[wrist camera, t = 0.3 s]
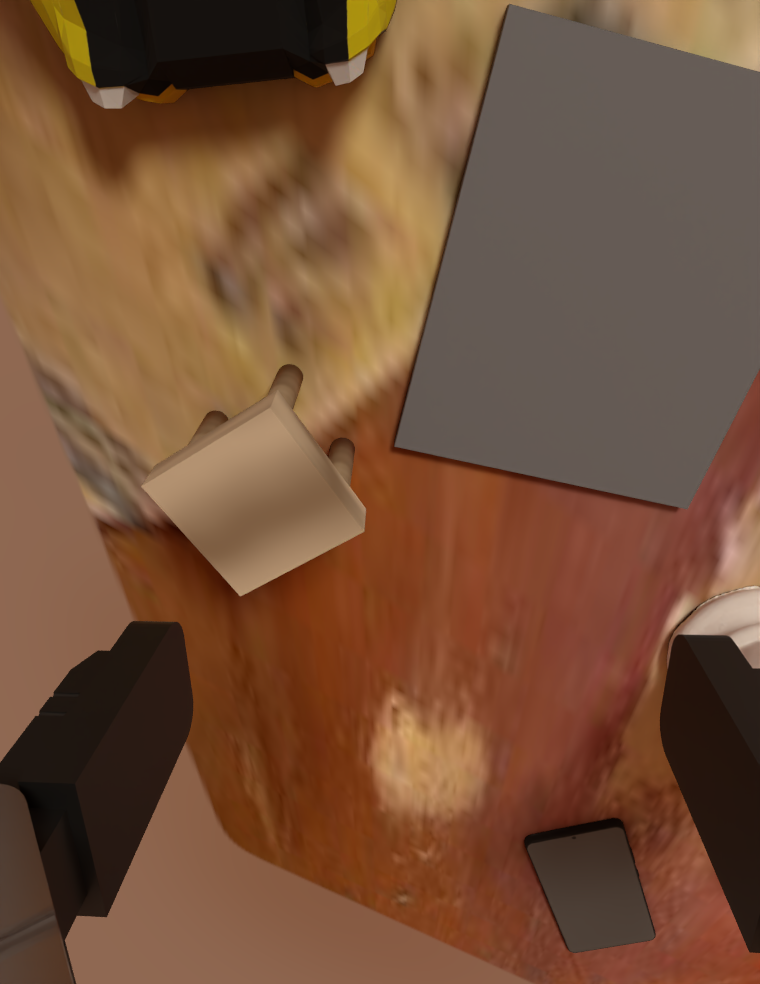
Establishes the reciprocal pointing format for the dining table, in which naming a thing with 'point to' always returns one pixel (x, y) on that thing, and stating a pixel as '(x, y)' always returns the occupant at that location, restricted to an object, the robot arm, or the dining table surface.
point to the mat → (597, 267)
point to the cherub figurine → (728, 621)
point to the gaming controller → (210, 43)
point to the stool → (259, 489)
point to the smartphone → (592, 885)
